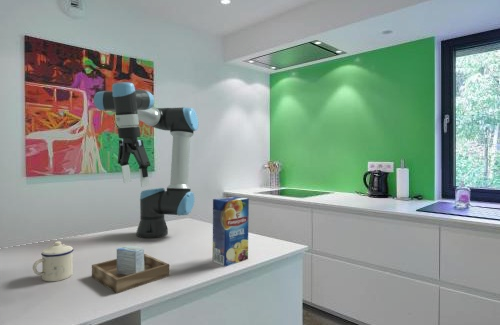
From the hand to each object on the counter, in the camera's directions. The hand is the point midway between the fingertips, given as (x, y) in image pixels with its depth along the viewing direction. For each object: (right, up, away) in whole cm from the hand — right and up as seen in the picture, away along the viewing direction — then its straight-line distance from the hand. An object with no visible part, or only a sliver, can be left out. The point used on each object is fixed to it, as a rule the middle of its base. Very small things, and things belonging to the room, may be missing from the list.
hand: (136, 184), depth 117 cm
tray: (+2, -30, -12) cm, 33 cm away
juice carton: (+35, -30, +5) cm, 46 cm away
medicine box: (+2, -29, -12) cm, 32 cm away
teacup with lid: (-22, -30, -14) cm, 40 cm away
